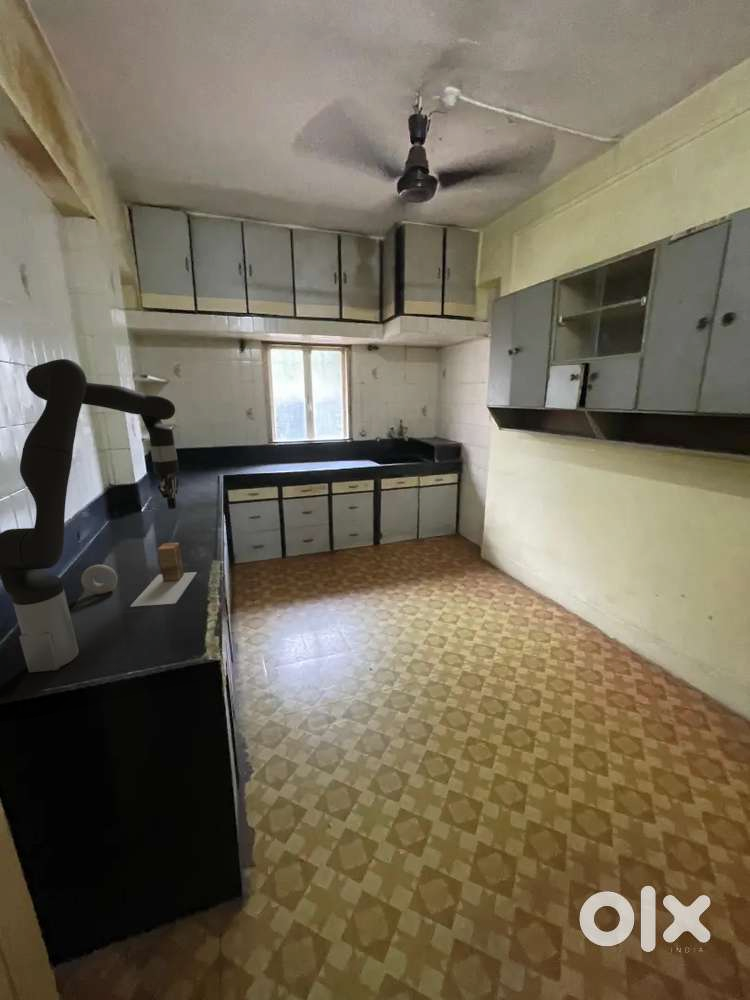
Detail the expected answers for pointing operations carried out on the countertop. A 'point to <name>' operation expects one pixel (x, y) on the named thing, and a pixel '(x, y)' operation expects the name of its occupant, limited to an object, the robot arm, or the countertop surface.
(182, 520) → the countertop surface
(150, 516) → the countertop surface
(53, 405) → the robot arm
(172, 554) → the walnut block
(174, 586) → the grey mat
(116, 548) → the countertop surface
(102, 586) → the donut
